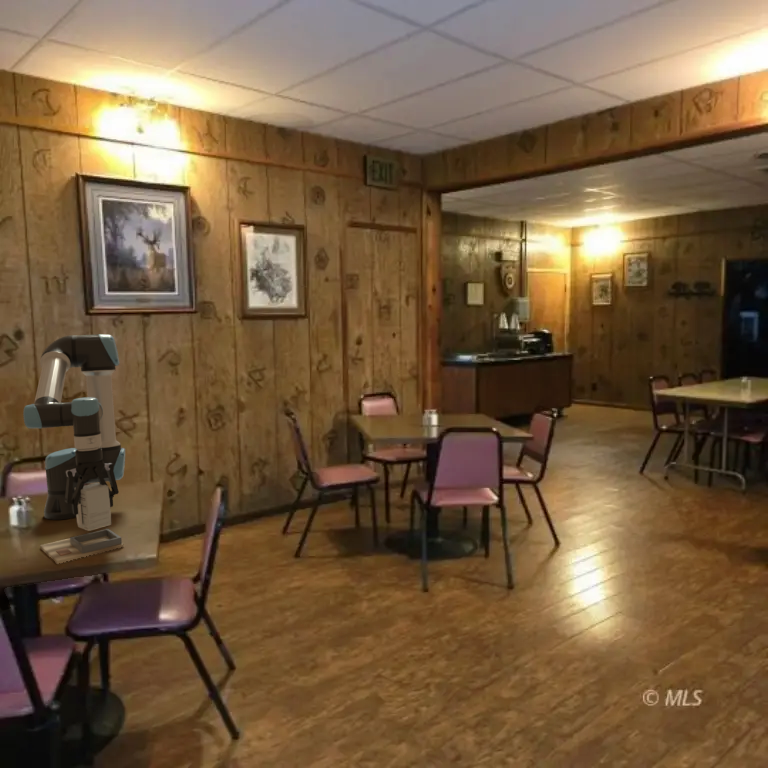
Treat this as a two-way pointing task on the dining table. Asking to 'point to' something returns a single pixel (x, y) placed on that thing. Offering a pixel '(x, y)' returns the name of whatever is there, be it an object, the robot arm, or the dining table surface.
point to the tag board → (72, 549)
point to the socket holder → (99, 545)
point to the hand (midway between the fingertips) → (94, 520)
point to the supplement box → (95, 506)
